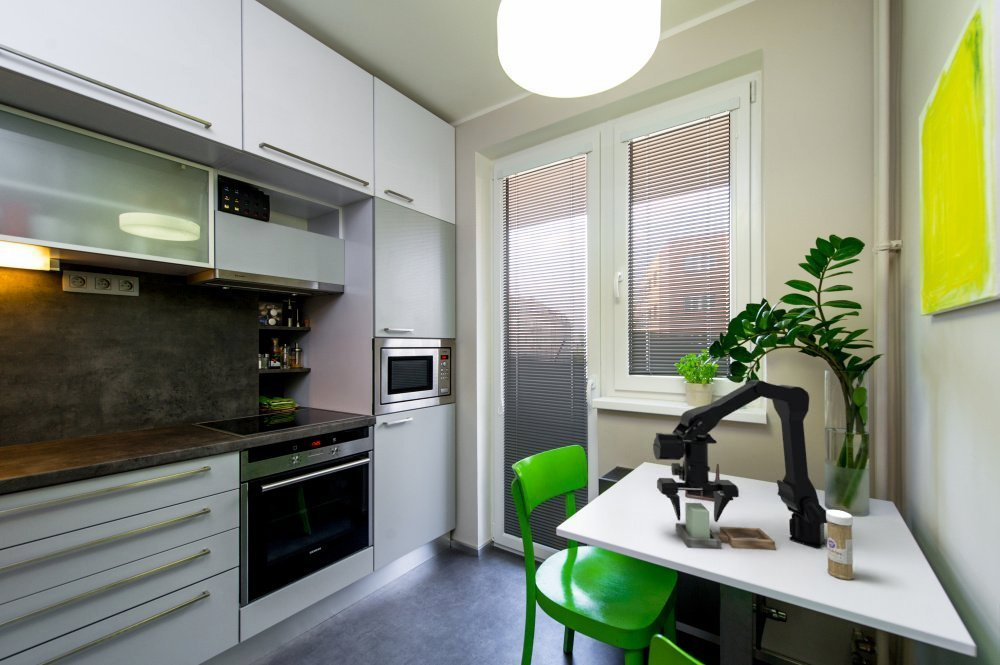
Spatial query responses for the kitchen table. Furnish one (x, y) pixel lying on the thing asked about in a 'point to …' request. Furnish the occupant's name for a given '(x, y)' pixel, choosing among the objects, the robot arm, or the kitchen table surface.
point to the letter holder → (703, 494)
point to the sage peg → (697, 521)
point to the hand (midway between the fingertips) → (697, 520)
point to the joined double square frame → (728, 538)
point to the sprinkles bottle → (839, 544)
